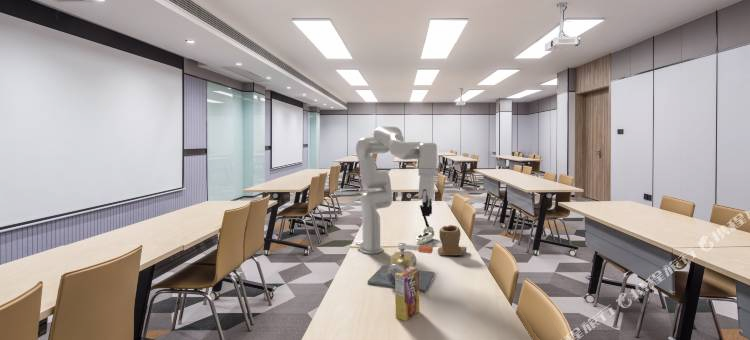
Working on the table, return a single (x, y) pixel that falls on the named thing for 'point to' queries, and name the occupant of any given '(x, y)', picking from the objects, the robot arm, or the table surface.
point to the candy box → (407, 293)
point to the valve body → (397, 264)
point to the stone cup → (450, 241)
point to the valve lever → (416, 248)
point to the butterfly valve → (425, 232)
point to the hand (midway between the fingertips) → (427, 214)
